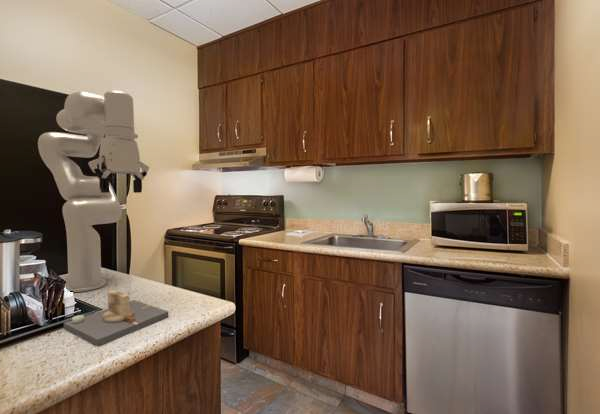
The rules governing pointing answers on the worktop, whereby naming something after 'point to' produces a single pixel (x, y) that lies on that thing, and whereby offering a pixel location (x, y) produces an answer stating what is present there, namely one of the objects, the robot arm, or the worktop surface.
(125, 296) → the levelling knob
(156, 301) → the worktop surface
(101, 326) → the base plate
